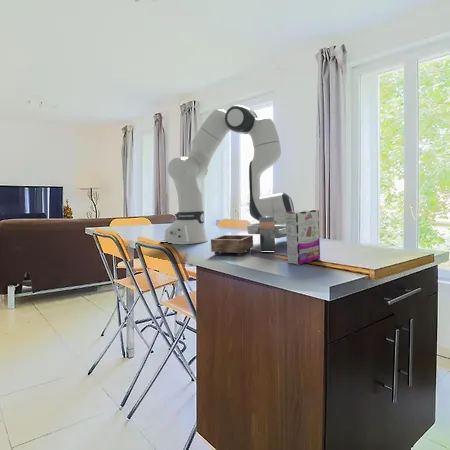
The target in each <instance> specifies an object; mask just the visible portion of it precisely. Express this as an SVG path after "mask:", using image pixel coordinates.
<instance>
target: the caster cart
mask: <svg viewBox="0 0 450 450" xmlns="http://www.w3.org/2000/svg"><path fill="white" fill-rule="evenodd" d="M253 235H254V234H247V235H246V234H241V235H239V234H222V235H220V236H217V237H214V238H211V239H210V249H211V251H210V252H212V253H214V255H215V256H219V255H220V253H233V254H234V253H236V254H237V257H241V256H243V253H245V252H247V253H248V252H250V251H252V250H251V249H253V248H254V238H253Z"/></svg>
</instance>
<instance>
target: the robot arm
mask: <svg viewBox="0 0 450 450" xmlns="http://www.w3.org/2000/svg"><path fill="white" fill-rule="evenodd" d="M231 131H232V132H234V133H237V134H242V135H249V136H250V137H251V141H252V145H253V156H252V159H251V161H250V162H249V166H248V181H249V182H248V185H249V186H248V187H249V205H248V207H249V209H248V210H249V214H250V216H251V217H252V219H254V220H256V221H258V222H259V217H274V222H275V239H281V238H285V237H286V238H287V234H286V212H292V211H295V206H294V203H293V200H292V197H291V196H290V195H288V194H287V193H285V192H280V193H274V194H271V195H266V196H265V195H264V196H261V179H260V178H261V176H262V174H263V173H265V171H266V170H268V169H269V168H271V167H273V166H274V165H275V164H276V163H277V162H278V160H279V159H280V158H281V153H282V149H281V143H280V139H279V133H278V131H277V129H276V125H275V123H274V121H273V120H272V119H271V118H269V117H260V118H259V117H258V115H257V113H256V112H255V111H254V110H252V109H251V108H249V107H247V106H244V105H240V104H236V105H232V106H230V107H229V108H228V109H227V110H224V109H221V108H215V109H214V110H212V112H210V114H209V115H208V116H207V118H206V119H204V122H203V123H202V124H201V125H200V128H199V129H198V131H197V132H196V134H195V135H194V136H193V138H192V140H191V149H190V152H189V154H188V155H187V156H181V155H180V156H176V157H174V158H172V159H171V160H170V161H169V162H168V165H167V172H168V175H169V176H170V178H171V179H172V181H173V183H174V186H175V189H176V193H177V201H178V202H177V203H178V212H177V213H174V214H173V215H174V216H173V217H175V221H172V223H171V224H170V225H169V226H167V228H165V231H164V238H162V239H160V240H161V241H166V242H169V243H172V244H171V245H183V246H184V245H189V244H190V245H191V244H199V243H205V242H208V237H207V233H206V228H205V212H204V209H203V207H204V206H203V194H202V192H201V190H200V188H199V185H198V181H201V180H203V179H205V178H206V177H207V175H208V173H209V172H208V170H209V169H208V168H209V165H210V162H211V159H212V157H213V155H214V154H215V152H216V150H217V149H218V148H219V146H220V145H221V143H222V141H223V139H224V138H225V137H226V135H228V133H229V132H231ZM246 231H247V235H260V229H259V223H252V224H248V225H247V230H246Z"/></svg>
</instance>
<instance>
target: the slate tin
mask: <svg viewBox="0 0 450 450" xmlns="http://www.w3.org/2000/svg"><path fill="white" fill-rule="evenodd" d="M258 224H259V229H260V234H259V249H260V250H261V251H275V252H276V238H275V222H274V217H259V221H258ZM260 250H259V251H260Z"/></svg>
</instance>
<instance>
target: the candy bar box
mask: <svg viewBox="0 0 450 450" xmlns="http://www.w3.org/2000/svg"><path fill="white" fill-rule="evenodd" d="M319 213H320V210H319V209H314V208H313V209H311V208H309V209H307V208H306V209H301V210H294V211H292V212H286V234H287V236H286V255H287V257H286V258H287V259H286V260H287V264H289V265H296V266H302V265H304V264H309V263H311V261H312V262H314V261H313V260H316V259H319V260H320V259H321V247H320V245H321V244H320V243H321V242H320V241H321V239H320V237H321V236H320V214H319ZM316 261H317V260H316Z"/></svg>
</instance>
